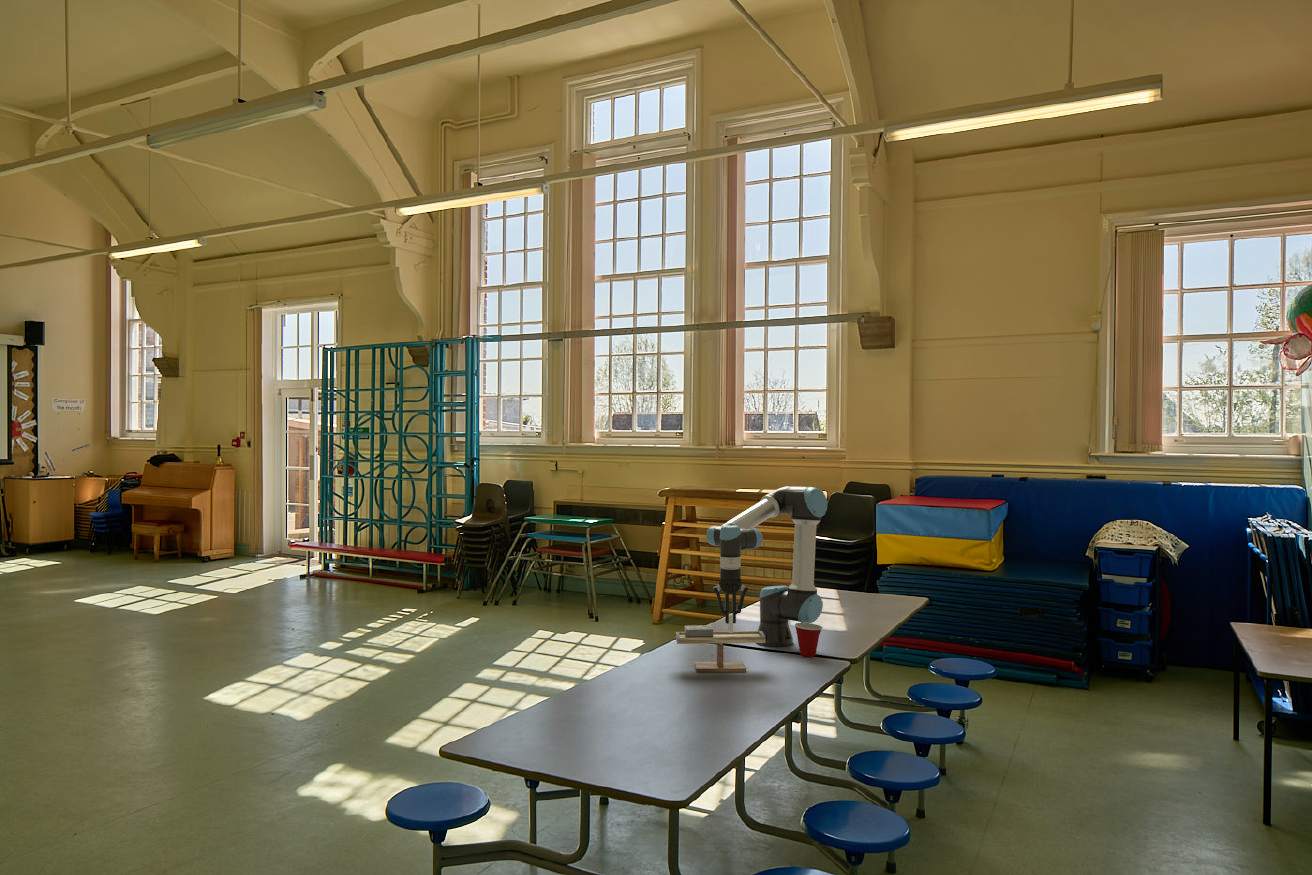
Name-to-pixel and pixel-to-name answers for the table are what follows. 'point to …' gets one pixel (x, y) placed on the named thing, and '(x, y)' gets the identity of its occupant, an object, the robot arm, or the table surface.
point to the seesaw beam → (723, 638)
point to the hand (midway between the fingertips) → (730, 632)
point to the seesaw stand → (720, 664)
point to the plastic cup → (808, 638)
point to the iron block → (699, 631)
